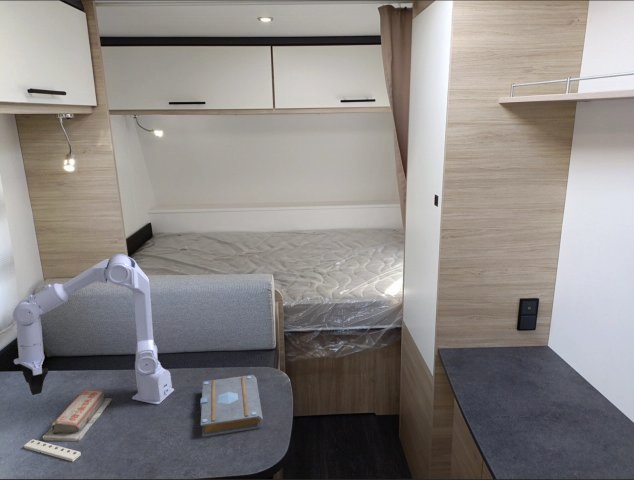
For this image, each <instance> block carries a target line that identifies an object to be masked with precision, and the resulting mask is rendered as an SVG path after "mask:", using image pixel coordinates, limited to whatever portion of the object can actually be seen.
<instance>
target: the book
mask: <svg viewBox="0 0 634 480" xmlns="http://www.w3.org/2000/svg"><path fill="white" fill-rule="evenodd" d="M201 392H202V393H201V398H200V399H199V400H200V401H199V404H200V413H201V414H200V415H201V416H200V427H201V437H202V438H204V437H205V438H206V437H211V436H212V437H213V436H218V435H223V434H224V435H225V434H230V433H231V434H232V433H236V432H243V431H250V430H254V429H255V430H257V429H261V427H262V426H263V424H264V419H263V411H262V404H261V399H260V393H259V386H258V381H257V377H256V376H255V375H254V374H249V375H242V376H234V377H233V376H232V377H227V378H220V379H213V380H212V379H210V380H205V381H202V391H201Z"/></svg>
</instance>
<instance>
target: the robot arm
mask: <svg viewBox="0 0 634 480" xmlns="http://www.w3.org/2000/svg"><path fill="white" fill-rule="evenodd" d="M108 281H109V282H110V283H111V284H112V285H116V286H121V287H125V288H127V289H128V290H130V291H132V293H133V294H132V295H133V305H134V320H135V330H136V333H135V334H136V347H135V362H134V368H135V369H134V371H135V378H136V387H137V393H136V394H135V395H133V396H132V398H131V399H132V400H134V401H135V400H136V401H138V402H139V401H140V402H144V403H147V404H152V405H153V404H154V405H159V404H161V403H162V401H164V400H165V399H167V398H168V396H170V395H171V394H172V393H173V392H174V391H175V388H173V385H172V376H171V372H170V371H169V370H167V369H165V368H164V367H163V366H162V365H161V362H160V361H159V360H158V352H159V351H158V346H157V345H156V343H155V341H154V331H153V329H154V327H153V318H152V317H153V315H152V313H153V312H152V302H151V301H152V300H151V288H150V287H151V286H150V280H149V277H148V276H147V275H146V273H145V272H143V269H141V268H140V266H139V265H138V263H137V262H136V260H135V259H134V258H132V257H130V256H129V255H127V254H123V253H118V254H114V255H113V256H111V258H107V259H103V260H102V261H100V262H98V263H96V264H95V265H93V266H91V267H89V268H88V269H86V270H85V271H82V272H81V273H79V274H77V275H76V276H75V277H73V278H71V279H70V280H68V281H67V282H65V283H53V284H51V283H48V284H45V286H44V289H42V290H41V291H39V292H37V293H35V294H32V293H31V294H30V295H28V296H27V297H26V298H23V299H21V300H19V302H18V304H17V305H16V306H15V308H14V309H13V312H12V317H13V320H14V321H15V322H16V338H17V349H18V358H15V359H13V363H14V365H19V366H20V368H21V370H22V375H23V377H24V380H25V382H26V384H27V383H28V385H29V390H30V392H31V395H33V396H35V395H39V394H41V393H42V391H43V387H44V382H45V379H46V377H47V375H48V374H49V369H48V367H45V368H42V367H43V366H42V365H43V362H44V360H45V353H44V343H43V342H44V341H43V328H42V327H43V326H42V322H41V321H42V320H41V315H44V314H47V313H48V312H50V311H52V310H54V309H56V308H58V307H59V306H61V305H63V304H65V303H67V302H68V300H69V296H70V295H72V294H73V293H76V292H77V291H79V290H82V289H83V288H85V287H87V286H90V285H92V284H94V283H95V282H96V283H97V282H98V283H102V284H107V282H108Z"/></svg>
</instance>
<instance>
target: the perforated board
mask: <svg viewBox="0 0 634 480" xmlns="http://www.w3.org/2000/svg"><path fill="white" fill-rule="evenodd" d="M23 447H24V449H26V450H29V451H33V452H37V453H40V452H41V454H44V455H48V456H51V457H54V458H59V459H62V460H66V461H69V462H74V461H75V460H77V458H79V457H80V456H81V455H82V454H81V451H78V450H74V449H70V448H67V447H64V446H60V445H56V444H51V443H49V442H44V441H41V440H37V439H31V440H29V441H28V442H26V444H24V445H23Z"/></svg>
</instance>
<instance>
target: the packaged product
mask: <svg viewBox="0 0 634 480" xmlns="http://www.w3.org/2000/svg"><path fill="white" fill-rule="evenodd" d="M111 402H112V398H111V397H110V398H107V397H105V394H104V391H102V390H101V389H84V390H82V391H81V392H80V393H79V394H78V395H77V396H76V397H75V399H74V400H73V401H71V403H70V404H69V405H67V407H66V408H65V409H64V410H63V412H62V413H60V415H59V416H58V417H56V419H55V420H53V423H51V427H50V428H49V429H48V430H47V432H46V433H45V434H44V435H43V436H42V440H43V441H46V442H47V441H49V442H53V441H55V442H77V441H78V442H79V441H81V440H82V439H83V437H84V436H85V434H87V432H88V431H89V429H90V428H91V427H92V425H94V423H95V422H96V421H97V420H98V419H99V417H100V416H101V415H102V413H103V412H104V411H105V409H106V408H107V407H108V406H109V405H110V403H111Z"/></svg>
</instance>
